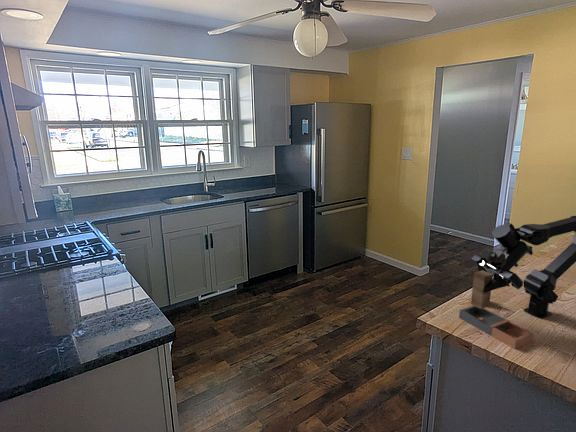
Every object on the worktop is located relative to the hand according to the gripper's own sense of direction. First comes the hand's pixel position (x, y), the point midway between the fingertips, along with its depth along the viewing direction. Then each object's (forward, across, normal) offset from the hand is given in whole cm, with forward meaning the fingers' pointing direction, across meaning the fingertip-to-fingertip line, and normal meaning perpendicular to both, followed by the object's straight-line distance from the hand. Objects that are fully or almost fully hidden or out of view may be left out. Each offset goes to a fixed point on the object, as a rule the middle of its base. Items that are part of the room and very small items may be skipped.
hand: (478, 288), depth 124 cm
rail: (+7, +6, +11) cm, 14 cm away
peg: (+4, 0, +6) cm, 7 cm away
